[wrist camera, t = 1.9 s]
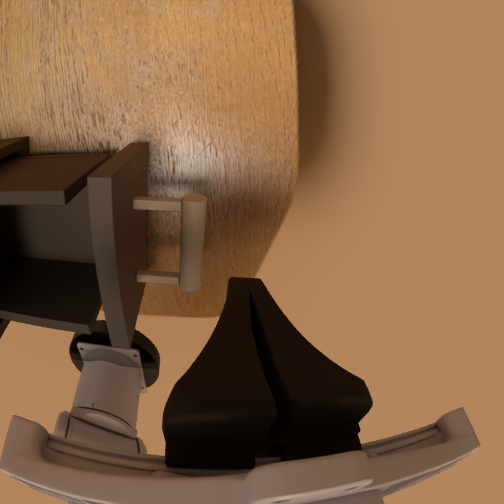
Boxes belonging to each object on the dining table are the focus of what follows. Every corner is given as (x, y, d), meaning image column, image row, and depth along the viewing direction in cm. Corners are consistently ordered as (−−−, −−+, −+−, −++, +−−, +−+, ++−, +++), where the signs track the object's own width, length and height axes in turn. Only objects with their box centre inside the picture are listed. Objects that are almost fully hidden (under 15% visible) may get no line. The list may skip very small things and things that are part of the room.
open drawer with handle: (211, 146, 18) (211, 182, 12) (200, 278, 24) (199, 354, 17) (-6, 149, 15) (-71, 185, 9) (13, 262, 20) (-28, 319, 14)
